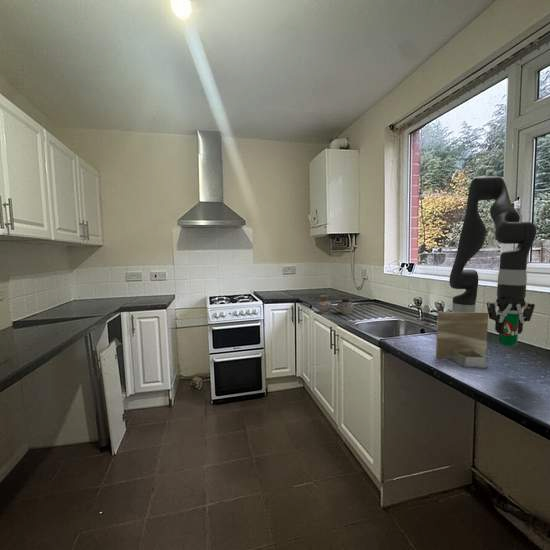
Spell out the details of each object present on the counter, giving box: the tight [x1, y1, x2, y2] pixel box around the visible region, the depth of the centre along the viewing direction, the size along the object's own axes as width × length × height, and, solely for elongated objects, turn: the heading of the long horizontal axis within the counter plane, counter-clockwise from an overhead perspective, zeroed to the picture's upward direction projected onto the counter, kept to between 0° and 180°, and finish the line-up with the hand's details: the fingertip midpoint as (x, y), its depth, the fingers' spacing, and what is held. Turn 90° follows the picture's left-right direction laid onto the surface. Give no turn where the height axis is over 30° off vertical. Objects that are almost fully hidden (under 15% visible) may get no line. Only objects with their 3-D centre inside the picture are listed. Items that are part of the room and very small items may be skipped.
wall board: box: [435, 311, 489, 359], centre depth 119 cm, size 2×18×18 cm, turn 84°
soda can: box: [498, 310, 519, 347], centre depth 102 cm, size 5×5×12 cm
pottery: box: [316, 294, 355, 316], centre depth 205 cm, size 11×25×12 cm, turn 78°
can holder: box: [449, 349, 488, 369], centre depth 114 cm, size 10×8×4 cm
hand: (508, 332), depth 102 cm, fingers closed on soda can, 5 cm apart
